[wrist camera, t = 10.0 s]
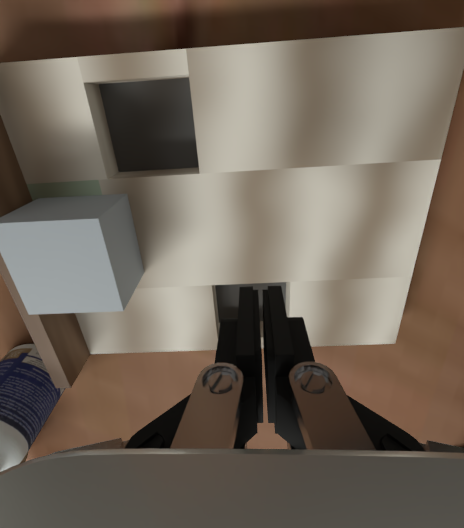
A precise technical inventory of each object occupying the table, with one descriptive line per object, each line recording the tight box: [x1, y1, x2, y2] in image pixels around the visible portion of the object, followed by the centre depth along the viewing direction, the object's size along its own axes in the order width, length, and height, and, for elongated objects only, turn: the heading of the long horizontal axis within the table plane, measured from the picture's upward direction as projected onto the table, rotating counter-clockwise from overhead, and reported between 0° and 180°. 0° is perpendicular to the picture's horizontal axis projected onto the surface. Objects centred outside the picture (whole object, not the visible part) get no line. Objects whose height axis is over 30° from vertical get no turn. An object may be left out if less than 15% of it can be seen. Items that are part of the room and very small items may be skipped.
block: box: [0, 194, 144, 315], centre depth 16 cm, size 5×5×4 cm
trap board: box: [0, 27, 464, 388], centre depth 18 cm, size 23×18×5 cm
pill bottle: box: [0, 344, 65, 472], centre depth 22 cm, size 5×5×10 cm
